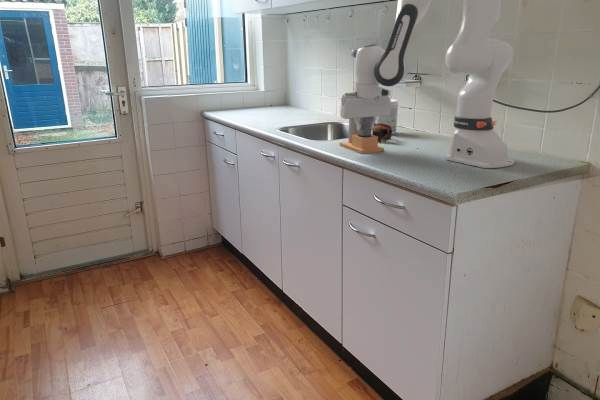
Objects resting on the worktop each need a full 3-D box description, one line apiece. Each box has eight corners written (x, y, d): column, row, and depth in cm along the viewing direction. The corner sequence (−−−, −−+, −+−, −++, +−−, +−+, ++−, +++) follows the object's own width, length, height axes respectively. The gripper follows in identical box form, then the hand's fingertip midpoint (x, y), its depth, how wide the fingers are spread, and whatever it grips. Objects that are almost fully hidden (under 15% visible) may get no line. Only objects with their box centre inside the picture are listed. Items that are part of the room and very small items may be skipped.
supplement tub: (376, 130, 208) (378, 98, 204) (397, 131, 205) (399, 99, 201) (373, 134, 200) (374, 101, 195) (394, 135, 197) (396, 101, 192)
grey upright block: (370, 142, 169) (371, 116, 166) (362, 143, 168) (363, 117, 165) (365, 141, 172) (366, 115, 169) (358, 142, 171) (358, 115, 168)
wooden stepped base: (383, 150, 168) (386, 98, 162) (360, 153, 164) (362, 100, 158) (359, 142, 183) (361, 94, 177) (338, 145, 179) (338, 96, 173)
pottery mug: (363, 141, 188) (368, 123, 189) (380, 149, 192) (384, 131, 193) (381, 138, 177) (386, 119, 178) (398, 147, 182) (403, 128, 183)
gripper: (346, 93, 157) (345, 132, 162) (394, 90, 165) (392, 128, 170) (337, 92, 163) (336, 130, 167) (384, 89, 171) (382, 125, 175)
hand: (365, 129), depth 168 cm, fingers closed on grey upright block, 3 cm apart
